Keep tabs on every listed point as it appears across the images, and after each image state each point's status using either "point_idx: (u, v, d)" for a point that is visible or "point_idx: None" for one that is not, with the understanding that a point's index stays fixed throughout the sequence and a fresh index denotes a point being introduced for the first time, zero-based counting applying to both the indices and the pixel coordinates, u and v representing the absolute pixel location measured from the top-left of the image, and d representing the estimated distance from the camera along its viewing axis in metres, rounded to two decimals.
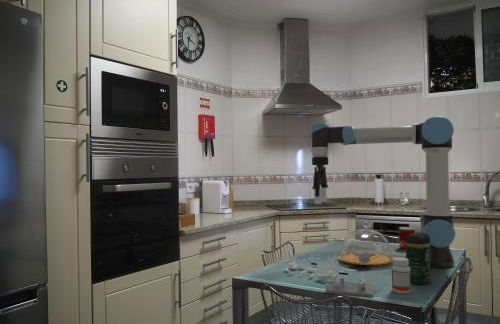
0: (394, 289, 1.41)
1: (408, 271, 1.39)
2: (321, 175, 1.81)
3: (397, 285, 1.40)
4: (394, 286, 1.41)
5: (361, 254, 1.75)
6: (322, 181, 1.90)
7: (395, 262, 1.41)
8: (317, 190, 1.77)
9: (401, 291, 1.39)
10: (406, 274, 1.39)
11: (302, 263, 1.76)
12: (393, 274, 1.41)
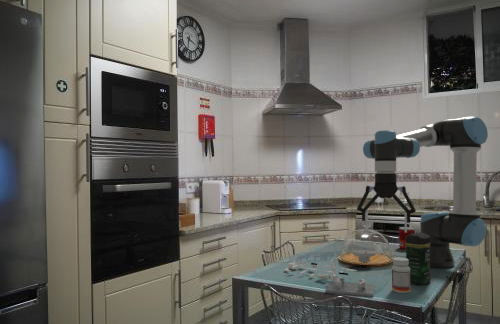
0: (394, 289, 1.41)
1: (408, 271, 1.39)
2: (374, 196, 1.47)
3: (397, 285, 1.40)
4: (394, 286, 1.41)
5: (361, 254, 1.75)
6: (400, 205, 1.45)
7: (395, 262, 1.41)
8: (362, 213, 1.50)
9: (401, 291, 1.39)
10: (406, 273, 1.39)
11: (302, 263, 1.76)
12: (393, 274, 1.41)
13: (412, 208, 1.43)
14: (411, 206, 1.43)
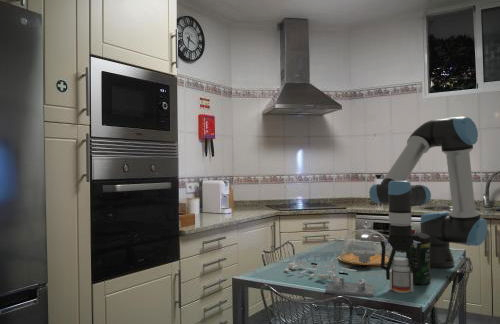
0: (394, 289, 1.41)
1: (408, 271, 1.39)
2: None
3: (397, 285, 1.40)
4: (394, 286, 1.41)
5: (361, 254, 1.75)
6: None
7: (395, 261, 1.41)
8: (386, 271, 1.43)
9: (401, 291, 1.39)
10: (406, 273, 1.39)
11: (302, 263, 1.76)
12: (393, 274, 1.41)
13: (419, 267, 1.39)
14: (419, 264, 1.39)
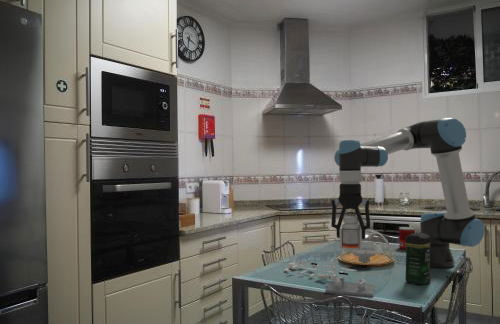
0: (343, 246, 1.43)
1: (357, 228, 1.42)
2: None
3: (346, 242, 1.42)
4: (343, 243, 1.43)
5: (361, 254, 1.75)
6: (358, 218, 1.43)
7: (345, 219, 1.43)
8: None
9: (350, 248, 1.41)
10: (355, 231, 1.41)
11: (302, 263, 1.76)
12: (343, 232, 1.43)
13: (368, 224, 1.41)
14: (367, 222, 1.41)
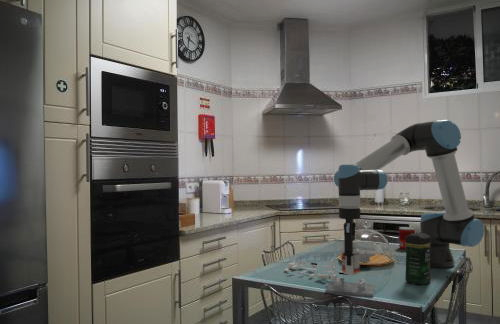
0: (355, 272, 1.41)
1: None
2: (352, 235, 1.41)
3: (358, 266, 1.42)
4: (355, 269, 1.41)
5: (361, 254, 1.75)
6: None
7: (355, 244, 1.42)
8: (349, 258, 1.39)
9: None
10: None
11: (302, 263, 1.76)
12: (354, 257, 1.41)
13: None
14: None
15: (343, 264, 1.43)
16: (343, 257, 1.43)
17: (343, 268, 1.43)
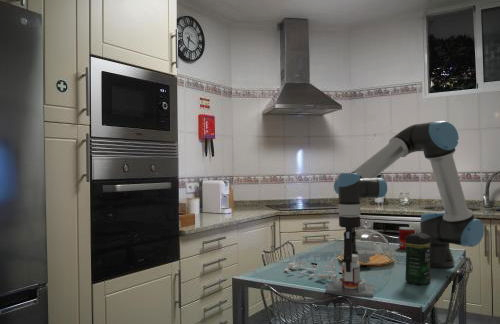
0: (356, 286, 1.41)
1: None
2: (352, 242, 1.40)
3: (358, 280, 1.42)
4: (356, 283, 1.41)
5: (361, 254, 1.75)
6: None
7: (355, 258, 1.42)
8: (348, 264, 1.37)
9: None
10: None
11: (302, 263, 1.76)
12: (354, 272, 1.41)
13: (355, 247, 1.52)
14: (355, 246, 1.51)
15: (343, 278, 1.43)
16: (343, 271, 1.43)
17: (343, 282, 1.43)
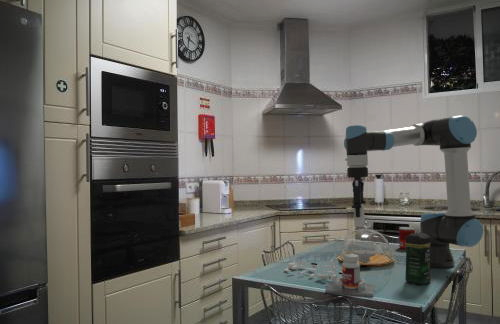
0: (356, 286, 1.41)
1: None
2: (361, 190, 1.46)
3: (358, 280, 1.42)
4: (356, 283, 1.41)
5: (361, 254, 1.75)
6: None
7: (356, 258, 1.42)
8: (358, 209, 1.42)
9: None
10: None
11: (302, 263, 1.76)
12: (354, 272, 1.41)
13: (363, 198, 1.59)
14: None
15: (343, 278, 1.43)
16: (343, 271, 1.43)
17: (343, 282, 1.43)
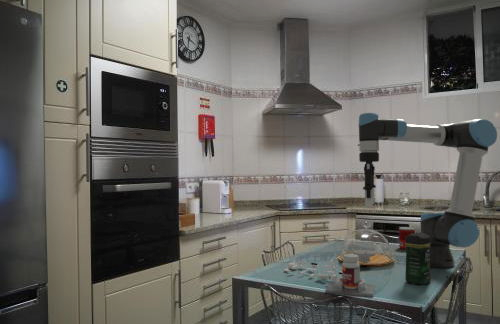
0: (356, 286, 1.41)
1: None
2: (372, 173, 1.56)
3: (358, 280, 1.42)
4: (356, 283, 1.41)
5: (361, 254, 1.75)
6: None
7: (355, 258, 1.42)
8: (369, 191, 1.52)
9: None
10: None
11: (302, 263, 1.76)
12: (354, 272, 1.41)
13: None
14: (373, 181, 1.68)
15: (343, 278, 1.43)
16: (343, 271, 1.43)
17: (343, 282, 1.43)
